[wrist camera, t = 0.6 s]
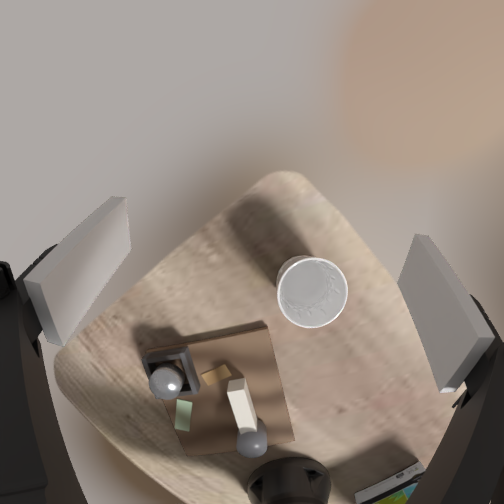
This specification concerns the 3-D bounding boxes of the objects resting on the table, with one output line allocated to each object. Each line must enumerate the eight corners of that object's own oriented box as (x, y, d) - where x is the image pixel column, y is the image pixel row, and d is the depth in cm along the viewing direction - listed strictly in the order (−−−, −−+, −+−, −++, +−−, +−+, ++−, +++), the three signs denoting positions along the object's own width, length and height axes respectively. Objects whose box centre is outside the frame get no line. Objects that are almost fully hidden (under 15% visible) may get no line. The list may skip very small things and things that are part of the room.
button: (188, 387, 42) (184, 397, 39) (160, 391, 42) (154, 401, 39) (179, 360, 42) (174, 369, 39) (150, 365, 42) (144, 373, 39)
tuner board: (294, 436, 46) (296, 450, 43) (188, 452, 47) (184, 465, 43) (267, 326, 45) (268, 334, 41) (147, 349, 46) (139, 358, 42)
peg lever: (269, 437, 45) (270, 455, 40) (242, 441, 45) (240, 459, 40) (251, 376, 44) (251, 392, 39) (222, 381, 44) (218, 397, 39)
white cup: (264, 296, 45) (266, 315, 35) (283, 243, 44) (291, 247, 34) (316, 313, 45) (332, 336, 35) (336, 261, 44) (357, 271, 34)
